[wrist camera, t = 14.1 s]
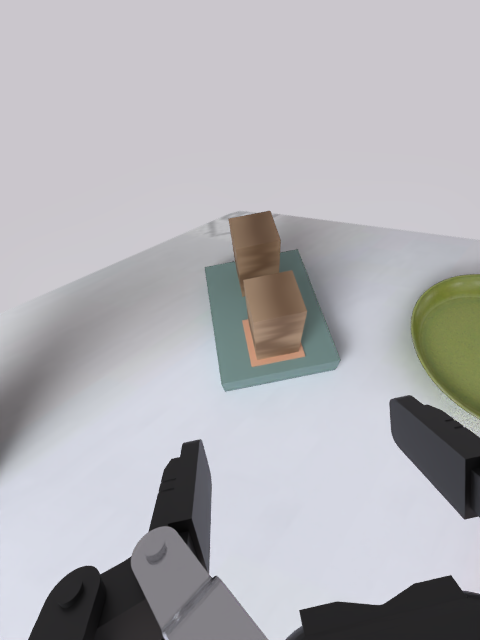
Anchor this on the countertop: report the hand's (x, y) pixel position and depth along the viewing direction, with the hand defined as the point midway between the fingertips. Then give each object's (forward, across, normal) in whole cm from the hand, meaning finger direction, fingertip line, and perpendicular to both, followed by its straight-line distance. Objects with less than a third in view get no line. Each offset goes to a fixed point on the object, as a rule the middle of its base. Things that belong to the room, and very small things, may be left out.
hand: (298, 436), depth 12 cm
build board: (+28, -3, +3) cm, 28 cm away
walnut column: (+30, -3, -3) cm, 30 cm away
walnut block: (+23, -3, +4) cm, 23 cm away
